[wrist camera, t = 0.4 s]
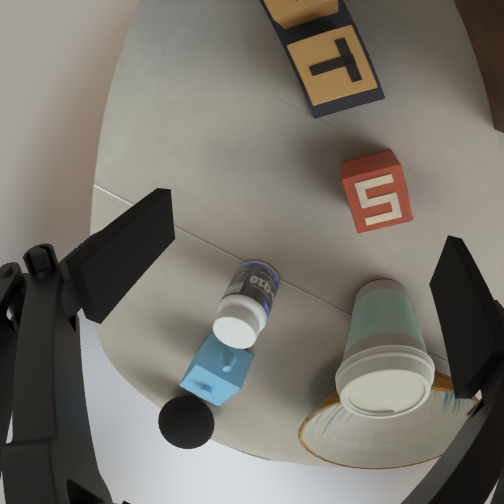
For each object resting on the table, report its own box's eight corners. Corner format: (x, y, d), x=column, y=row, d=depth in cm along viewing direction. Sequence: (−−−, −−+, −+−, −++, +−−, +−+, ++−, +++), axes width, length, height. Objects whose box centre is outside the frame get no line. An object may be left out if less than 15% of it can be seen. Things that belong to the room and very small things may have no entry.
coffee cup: (327, 288, 32) (313, 383, 22) (402, 254, 27) (421, 350, 18) (362, 338, 34) (357, 428, 24) (429, 312, 30) (445, 405, 20)
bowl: (286, 410, 46) (275, 452, 40) (351, 307, 32) (348, 366, 26) (412, 436, 44) (412, 474, 37) (506, 353, 29) (520, 400, 23)
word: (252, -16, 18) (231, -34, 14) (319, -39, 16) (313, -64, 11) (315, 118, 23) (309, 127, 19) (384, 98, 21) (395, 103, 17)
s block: (340, 162, 25) (340, 179, 21) (391, 149, 23) (400, 163, 19) (356, 209, 26) (357, 234, 23) (403, 198, 25) (413, 221, 21)
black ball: (228, 418, 53) (211, 462, 45) (183, 410, 57) (164, 450, 48) (211, 390, 48) (190, 439, 40) (163, 381, 52) (139, 424, 44)
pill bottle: (288, 284, 33) (271, 343, 26) (255, 301, 35) (232, 357, 28) (260, 251, 31) (235, 306, 25) (228, 270, 34) (198, 324, 27)
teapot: (224, 312, 37) (202, 358, 31) (267, 337, 38) (251, 385, 32) (193, 356, 44) (172, 395, 38) (228, 375, 45) (211, 415, 39)
